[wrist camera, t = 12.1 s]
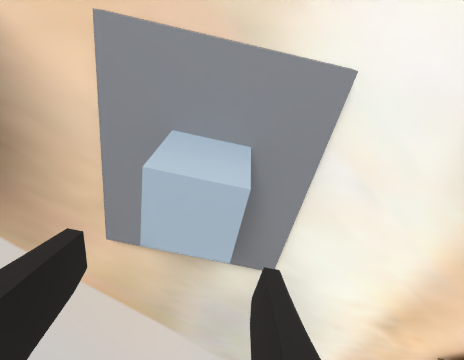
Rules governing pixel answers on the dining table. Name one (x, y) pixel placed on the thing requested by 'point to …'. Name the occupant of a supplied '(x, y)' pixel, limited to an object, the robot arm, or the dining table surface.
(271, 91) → the rubber mat
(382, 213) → the dining table surface
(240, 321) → the dining table surface
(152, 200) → the slate cube
